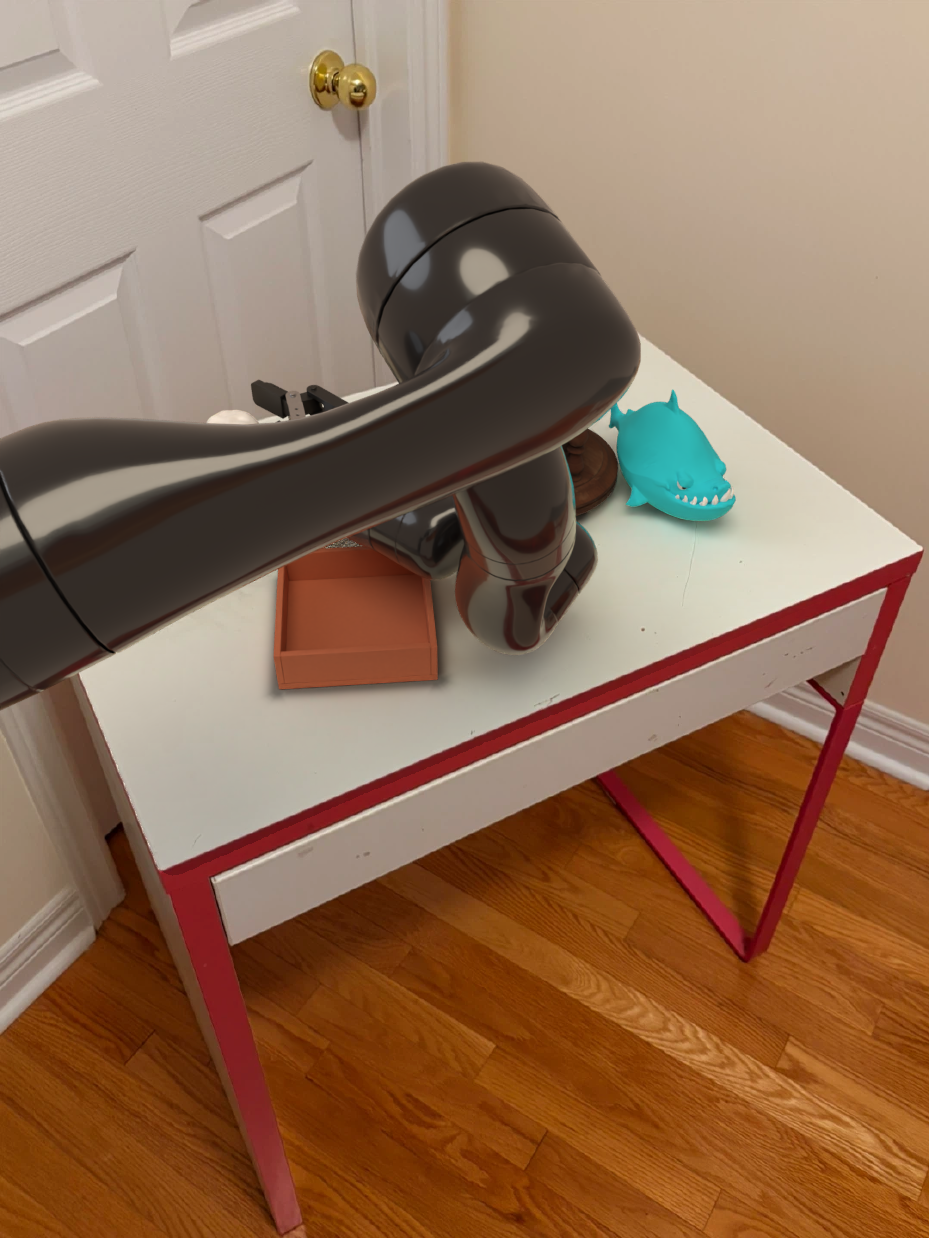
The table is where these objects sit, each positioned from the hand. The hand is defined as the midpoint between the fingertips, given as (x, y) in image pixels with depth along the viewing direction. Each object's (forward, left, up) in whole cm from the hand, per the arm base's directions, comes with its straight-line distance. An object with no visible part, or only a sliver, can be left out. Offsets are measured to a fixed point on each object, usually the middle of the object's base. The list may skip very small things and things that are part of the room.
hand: (216, 411), depth 88 cm
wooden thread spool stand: (+28, +1, -10) cm, 30 cm away
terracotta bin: (+11, -17, -10) cm, 22 cm away
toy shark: (+39, -1, -10) cm, 40 cm away
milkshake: (+1, -1, -10) cm, 10 cm away
